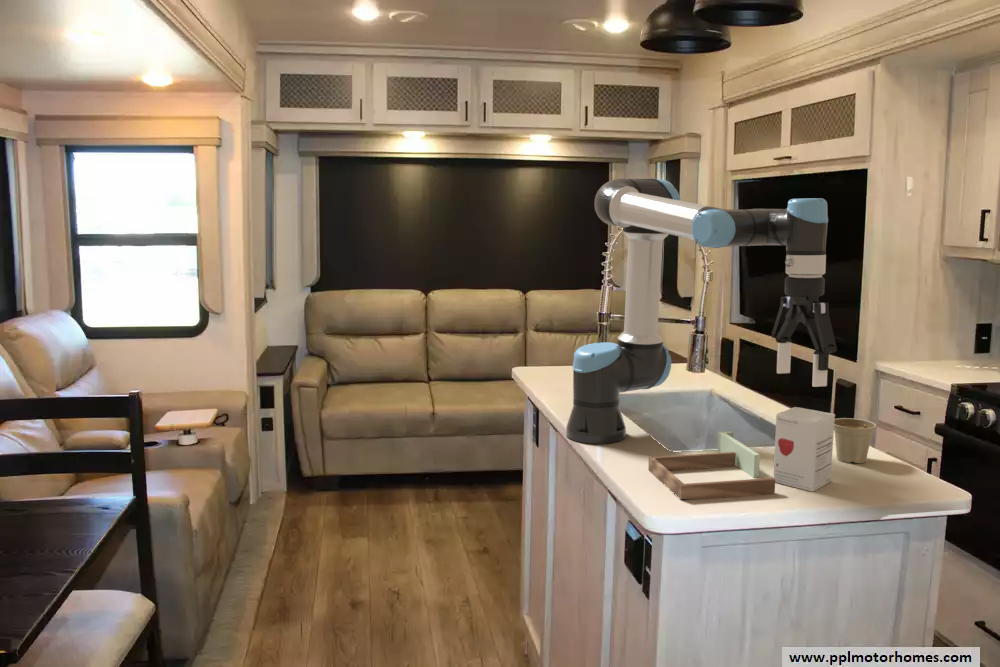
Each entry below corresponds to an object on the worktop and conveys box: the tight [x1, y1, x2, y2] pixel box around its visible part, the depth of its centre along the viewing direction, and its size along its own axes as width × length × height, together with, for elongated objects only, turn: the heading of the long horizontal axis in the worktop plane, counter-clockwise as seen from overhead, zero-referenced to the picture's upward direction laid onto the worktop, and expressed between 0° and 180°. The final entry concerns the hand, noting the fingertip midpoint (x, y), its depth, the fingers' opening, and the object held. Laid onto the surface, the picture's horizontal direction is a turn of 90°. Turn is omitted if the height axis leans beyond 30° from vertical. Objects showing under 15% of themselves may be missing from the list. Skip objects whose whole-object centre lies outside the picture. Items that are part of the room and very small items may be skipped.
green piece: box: [716, 430, 761, 479], centre depth 181 cm, size 18×3×5 cm, turn 9°
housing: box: [648, 452, 776, 500], centre depth 170 cm, size 19×20×3 cm
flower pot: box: [834, 417, 877, 464], centre depth 184 cm, size 9×9×9 cm
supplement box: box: [772, 406, 836, 492], centre depth 168 cm, size 9×9×15 cm
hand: (800, 379), depth 165 cm, fingers open, 13 cm apart
